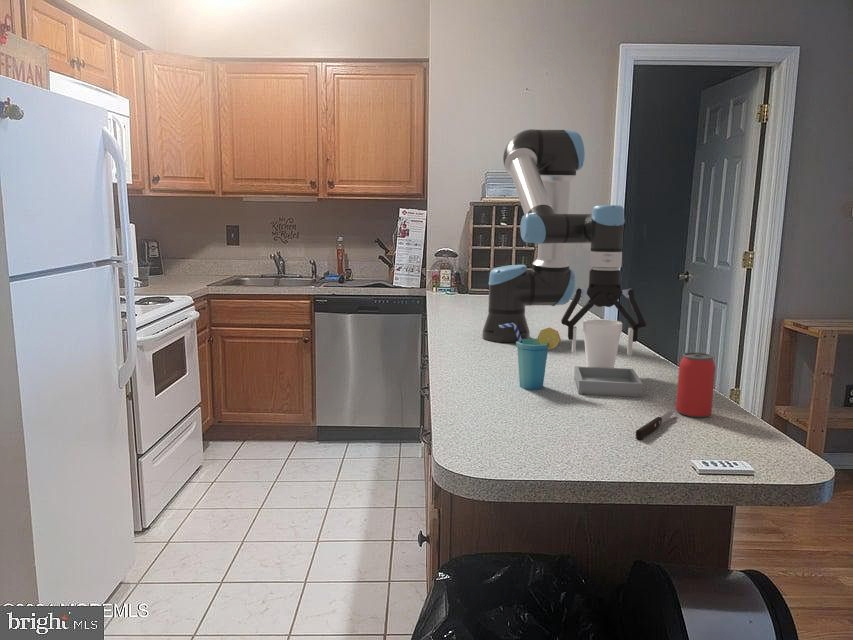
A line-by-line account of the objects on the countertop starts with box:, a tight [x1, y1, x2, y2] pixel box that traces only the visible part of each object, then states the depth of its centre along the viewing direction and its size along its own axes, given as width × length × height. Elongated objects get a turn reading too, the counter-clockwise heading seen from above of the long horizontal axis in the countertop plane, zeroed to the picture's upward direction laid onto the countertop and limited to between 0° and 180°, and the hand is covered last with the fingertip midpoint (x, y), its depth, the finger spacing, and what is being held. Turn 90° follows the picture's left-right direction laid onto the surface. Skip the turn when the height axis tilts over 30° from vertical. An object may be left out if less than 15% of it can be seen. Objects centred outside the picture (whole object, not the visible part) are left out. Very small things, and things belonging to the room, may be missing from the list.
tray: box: [573, 365, 644, 398], centre depth 142 cm, size 14×14×3 cm
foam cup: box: [582, 318, 623, 368], centre depth 154 cm, size 10×9×13 cm
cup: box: [499, 323, 562, 391], centre depth 141 cm, size 14×8×15 cm, turn 87°
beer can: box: [675, 351, 716, 419], centre depth 123 cm, size 7×7×12 cm
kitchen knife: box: [635, 411, 674, 441], centre depth 115 cm, size 18×1×2 cm, turn 140°
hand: (601, 353), depth 154 cm, fingers open, 13 cm apart
